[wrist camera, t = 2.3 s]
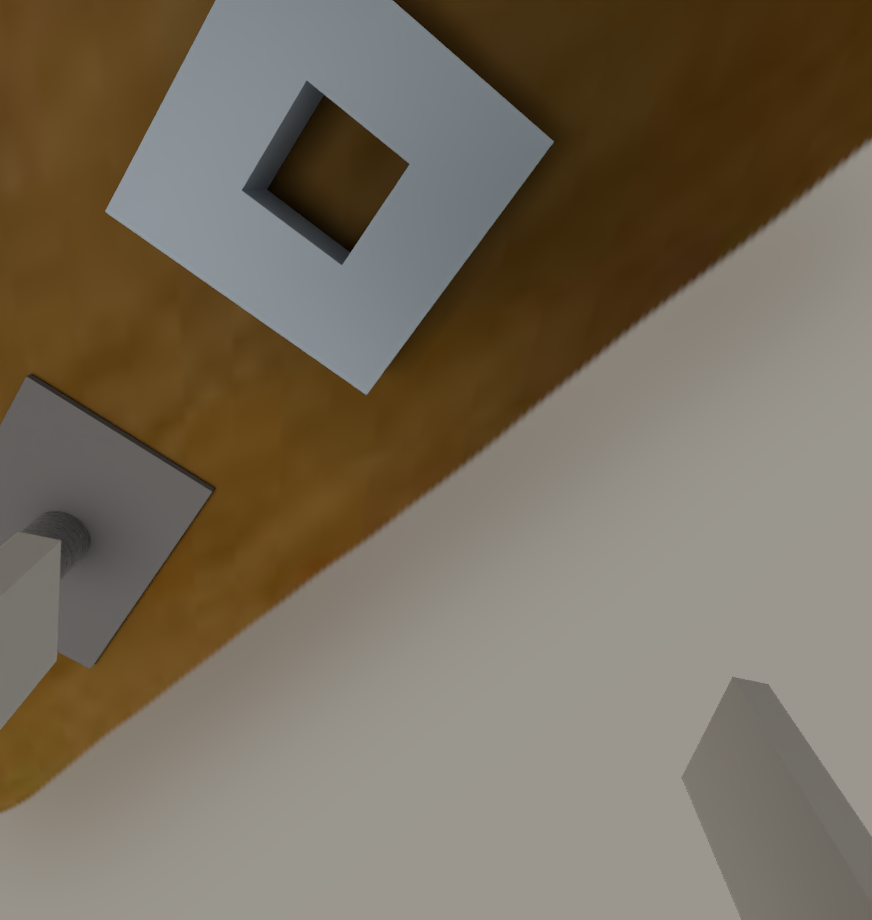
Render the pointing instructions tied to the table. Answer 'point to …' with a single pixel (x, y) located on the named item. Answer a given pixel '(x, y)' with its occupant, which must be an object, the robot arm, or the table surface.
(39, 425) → the mat
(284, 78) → the hole block
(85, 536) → the peg
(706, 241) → the table surface
